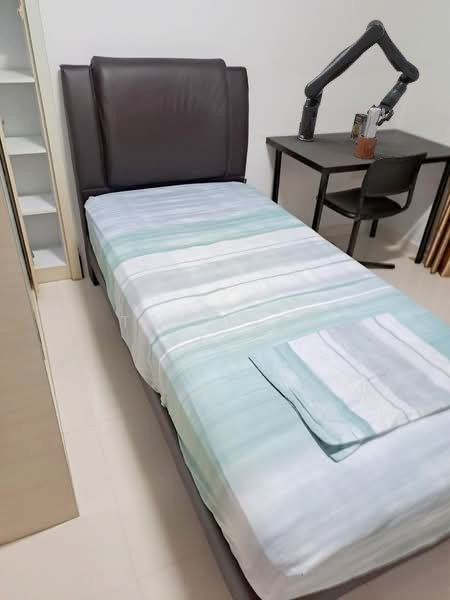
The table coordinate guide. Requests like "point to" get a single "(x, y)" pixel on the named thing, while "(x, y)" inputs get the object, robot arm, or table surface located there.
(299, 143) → the table surface
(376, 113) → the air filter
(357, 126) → the coffee box
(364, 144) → the cup
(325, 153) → the table surface
